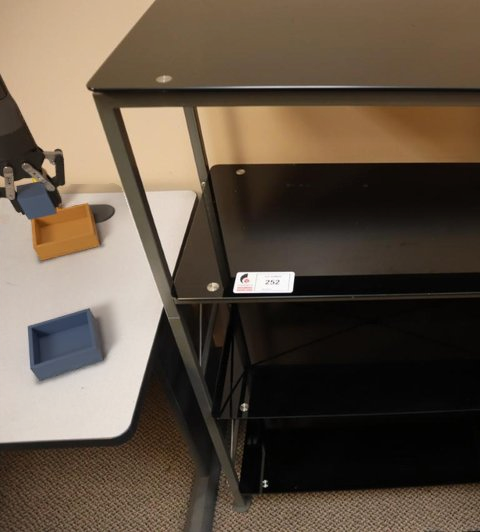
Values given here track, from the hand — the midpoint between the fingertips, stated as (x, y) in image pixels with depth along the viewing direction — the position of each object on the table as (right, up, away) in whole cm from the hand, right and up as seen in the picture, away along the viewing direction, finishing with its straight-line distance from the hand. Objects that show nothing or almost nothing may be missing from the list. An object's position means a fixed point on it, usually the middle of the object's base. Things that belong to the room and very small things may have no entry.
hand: (41, 208), depth 91 cm
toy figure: (-13, +2, +23) cm, 26 cm away
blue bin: (+7, -25, -2) cm, 26 cm away
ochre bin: (-6, -4, +17) cm, 18 cm away
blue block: (0, 0, 0) cm, 0 cm away
